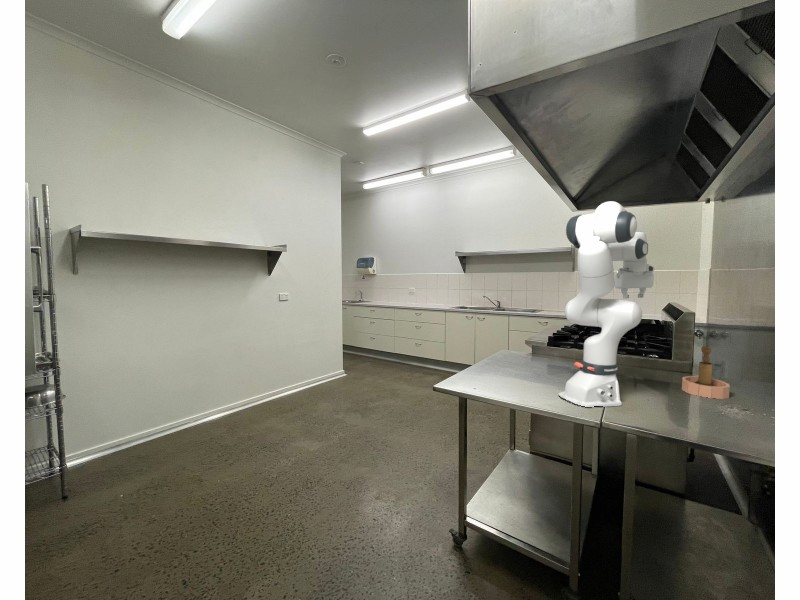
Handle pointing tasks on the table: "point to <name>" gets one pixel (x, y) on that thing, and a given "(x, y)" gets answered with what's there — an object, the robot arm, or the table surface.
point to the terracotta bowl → (706, 388)
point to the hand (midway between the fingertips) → (633, 298)
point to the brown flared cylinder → (705, 368)
